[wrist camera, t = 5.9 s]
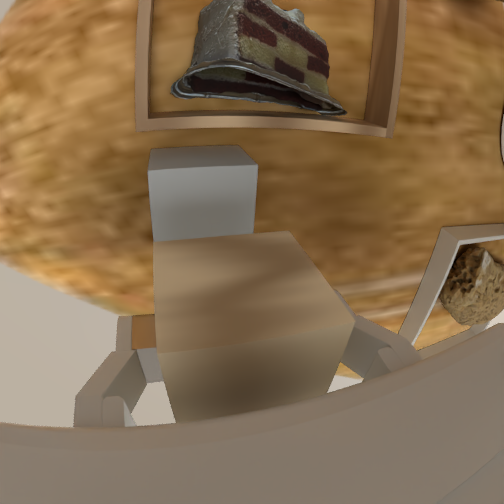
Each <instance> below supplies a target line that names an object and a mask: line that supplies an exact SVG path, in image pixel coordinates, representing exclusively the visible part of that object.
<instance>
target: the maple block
mask: <svg viewBox="0 0 504 504" xmlns="http://www.w3.org/2000/svg"><path fill="white" fill-rule="evenodd" d="M153 279H154V310H155V329H156V345H157V355H158V359H159V363H160V367H161V371H162V375H163V379H164V383H165V386H166V390H167V394H168V397H169V401H170V404H171V408H172V411H173V414H174V418H175V420H176V423H179V422H188V421H196V420H203V419H210V418H217V417H223V416H229V415H235V414H241V413H246V412H251V411H256V410H261V409H266V408H270V407H275V406H279V405H284V404H288V403H292V402H296V401H300V400H304V399H308V398H312V397H315V396H319V395H322V394H326V393H327V391H328V389H329V387H330V384H331V382H332V380H333V378H334V375H335V373H336V370H337V368H338V366H339V363H340V361H341V358H342V356H343V353H344V351H345V348H346V346H347V343H348V340H349V338H350V335H351V332H352V330H353V327H354V324H355V322H356V321H355V320H354V318H353V317H352V315H351V314H350V313H349V311H348V310H347V308H346V307H345V306H344V304H343V303H342V301H341V300H340V299H339V297H338V296H337V295H336V293H335V292H334V290H333V289H332V288H331V286H330V285H329V284H328V282H327V281H326V279H325V278H324V277H323V275H322V274H321V273H320V271H319V270H318V269H317V267H316V266H315V264H314V263H313V262H312V260H311V259H310V258H309V256H308V255H307V254H306V252H305V251H304V250H303V248H302V247H301V246H300V244H299V243H298V242H297V240H296V239H295V238H294V236H293V235H292V234H291V233H290V231H278V232H265V233H252V234H240V235H228V236H216V237H204V238H193V239H181V240H170V241H159V242H153Z"/></svg>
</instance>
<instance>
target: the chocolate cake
mask: <svg viewBox="0 0 504 504" xmlns="http://www.w3.org/2000/svg"><path fill="white" fill-rule="evenodd" d="M198 27H199V30H198V34H197V35H196V38H195V46H194V54H193V59H192V62H191V67H190V68H189V69H188V70H187V73H186V74H184V75H183V76H182V78H180V79H179V80H177V81H176V82H174V83H173V85H172V86H171V93H172V94H173V95H174V96H175V97H176V98H184V99H192V98H225V99H234V100H237V99H242V100H247V101H253V102H259V103H261V102H270V103H273V102H274V103H277V104H282V105H290V106H295V107H299V108H304V109H310V110H315V111H317V112H318V113H320V114H321V115H331V116H337V115H338V116H340V115H346V113H347V112H346V111H345V110H344V109H343V108H342V107H341V105H340V103H339V102H338V101H337V100H335V99H334V98H331V96H329V94H328V86H327V79H328V77H329V68H330V67H329V64H328V57H329V53H328V50H327V46H326V42H325V41H324V40H323V39H322V38H321V37H320V36H319V35H318V34H317V33H316V32H314V31H312V30H310V29H309V28H308V27H306V26H305V24H304V14H303V13H302V12H301V11H300V10H298V9H293V10H291V11H287V10H281V9H280V8H279V7H278V6H276V5H274V4H273V3H272V1H271V0H213V1H212V2H211V3H210V4H209V5H208V6H206V7H204V8H203V9H202V10H201V12H200V16H199V22H198ZM171 93H170V94H171Z"/></svg>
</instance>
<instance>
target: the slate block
mask: <svg viewBox="0 0 504 504" xmlns="http://www.w3.org/2000/svg"><path fill="white" fill-rule="evenodd" d="M257 175H258V165H257V164H256V163H255V161H254V160H253V159H252V158H251V157H250V156H249V155H248V154H247V153H246V152H245V151H244V150H243V149H242V148H241V147H240V146H239V145H218V146H191V147H173V148H158V149H151V152H150V159H149V165H148V184H149V198H150V210H151V220H152V230H153V240H154V242H159V241H170V240H181V239H193V238H204V237H216V236H228V235H240V234H252V233H253V232H254V217H255V203H256V189H257Z"/></svg>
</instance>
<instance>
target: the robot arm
mask: <svg viewBox="0 0 504 504" xmlns="http://www.w3.org/2000/svg"><path fill="white" fill-rule="evenodd" d="M501 144H502V155H503V161H504V116H503V123H502V136H501ZM334 292H335V293H336V295H337V296H338V297H339V299H340V300H341V301H342V303H343V304H344V306H345V307H346V308H347V310H348V311H349V313H350V314H351V315H352V317H353V318H354V320H355V321H356V322H355V324H354V327H353V330H352V332H351V335H350V338H349V340H348V343H347V346H346V348H345V351H344V353H343V356H342V358H341V361H340V362H341V363H343V364H344V365H346V366H347V367H348V368H350V369H351V370H353V371H354V372H356V373H357V374H358V375H360V376H361V377H363V378H364V379H363V381H362V383H359V384H355V385H352V386H349V387H346V388H343V389H339V390H336V391H333V392H329V393H326V394H322V395H319V396H315V397H312V398H308V399H304V400H300V401H296V402H292V403H288V404H284V405H279V406H275V407H270V408H266V409H261V410H256V411H251V412H246V413H241V414H235V415H229V416H223V417H217V418H210V419H203V420H196V421H188V422H179V423H171V424H159V425H147V426H137V425H136V424H135V422H134V420H133V418H132V416H131V413H132V411H133V409H134V407H135V405H136V403H137V402H138V400H139V398H140V396H141V394H142V393H143V391H144V389H145V387H146V385H147V383H152V382H160V381H164V379H163V375H162V371H161V367H160V363H159V359H158V355H157V345H156V329H155V314H146V315H133V316H119V318H118V322H117V336H116V351H115V352H111V353H110V354H109V356H108V357H107V358H106V359H105V360H104V362H103V363H102V364H101V365H100V367H99V368H98V369H97V370H96V372H95V373H94V374H93V375H92V377H91V378H90V379H89V380H88V381H87V383H86V384H85V385H84V386H83V388H82V389H81V390H80V392H79V393H78V394H77V395H76V398H75V411H74V426H73V427H51V426H36V425H24V424H14V423H6V422H0V504H504V323H498V324H496V325H494V326H492V327H490V328H488V329H486V330H484V331H483V332H481V333H479V334H477V335H475V336H473V337H471V338H469V339H467V340H465V341H463V342H461V343H459V344H457V345H454V346H452V347H450V348H448V349H446V350H444V351H441V352H439V353H437V354H435V355H432V356H430V357H428V358H425V359H422V357H421V356H420V355H419V353H418V352H417V351H416V349H415V348H414V347H413V346H412V344H411V343H410V342H409V340H408V339H406V338H404V337H402V336H400V335H398V334H396V333H394V332H392V331H390V330H388V329H386V328H384V327H382V326H380V325H378V324H376V323H374V322H372V321H370V320H368V319H366V318H364V317H362V316H360V315H359V316H356V315H355V314H354V312H353V311H352V310H351V308H350V307H349V306H348V304H347V303H346V301H345V300H344V299H343V297H342V296H341V295H340V293H339V292H338V291H337V290H334Z"/></svg>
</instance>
